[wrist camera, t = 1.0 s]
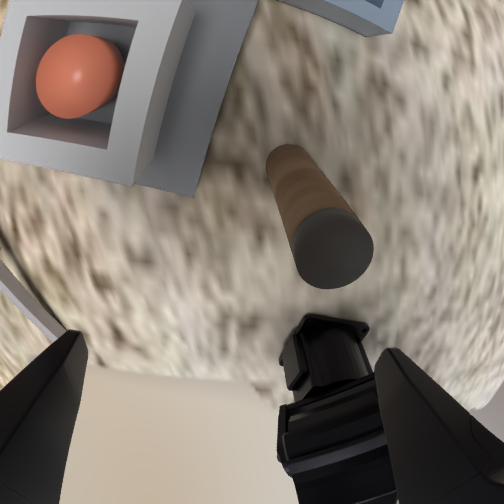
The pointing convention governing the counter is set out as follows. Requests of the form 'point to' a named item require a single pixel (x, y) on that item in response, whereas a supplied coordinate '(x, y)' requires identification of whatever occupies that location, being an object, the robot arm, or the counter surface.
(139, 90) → the grey square holder
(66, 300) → the counter surface
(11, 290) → the caliper
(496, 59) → the counter surface
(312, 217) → the brown wooden cylinder
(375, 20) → the blue square tray
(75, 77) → the button
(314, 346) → the robot arm
